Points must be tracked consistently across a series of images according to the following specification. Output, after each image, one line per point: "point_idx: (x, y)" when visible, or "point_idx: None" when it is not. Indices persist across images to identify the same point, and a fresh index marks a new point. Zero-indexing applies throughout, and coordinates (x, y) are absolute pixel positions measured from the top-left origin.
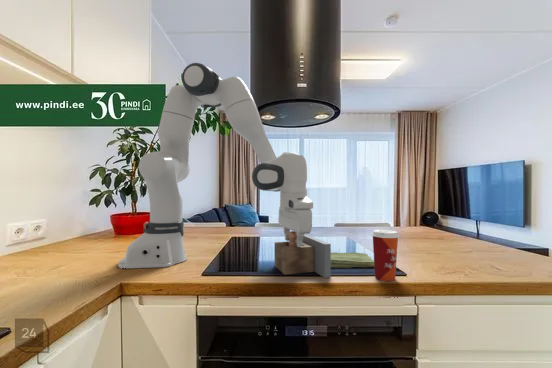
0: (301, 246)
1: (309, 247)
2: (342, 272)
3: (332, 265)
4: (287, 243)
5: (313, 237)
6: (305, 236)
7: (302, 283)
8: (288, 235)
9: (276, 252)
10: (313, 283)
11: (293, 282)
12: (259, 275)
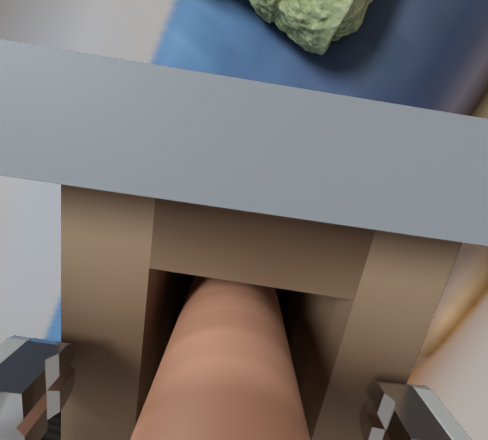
0: (369, 351)
1: (437, 286)
2: (463, 28)
3: (363, 15)
4: (140, 384)
5: (340, 109)
6: (167, 197)
7: (451, 335)
8: (10, 425)
9: None
10: (483, 295)
11: (416, 359)
12: None
